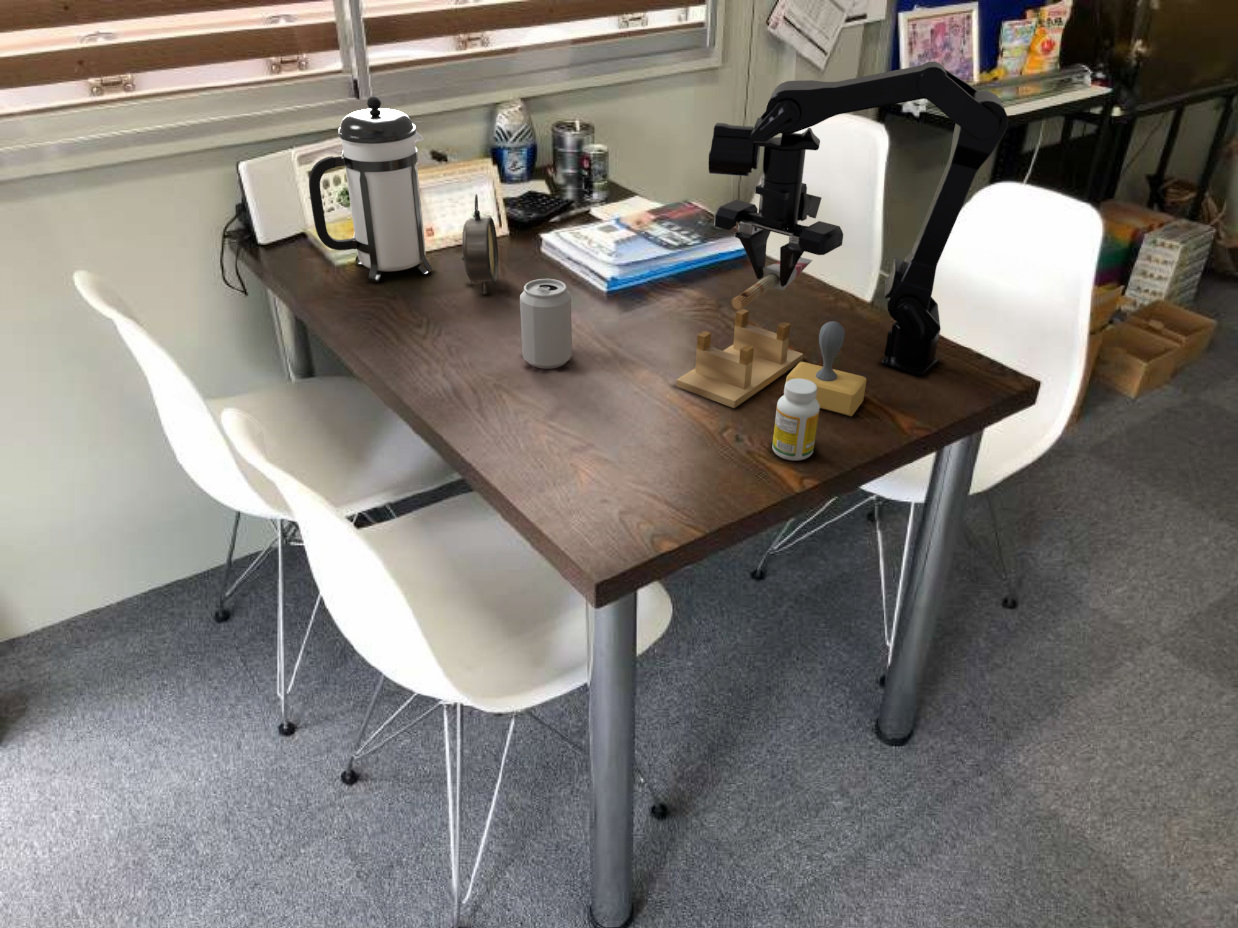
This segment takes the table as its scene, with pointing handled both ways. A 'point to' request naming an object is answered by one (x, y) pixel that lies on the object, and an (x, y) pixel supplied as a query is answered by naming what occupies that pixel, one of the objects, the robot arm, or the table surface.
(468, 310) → the table surface
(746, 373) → the brush rack
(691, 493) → the table surface
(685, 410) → the table surface
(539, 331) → the can
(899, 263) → the robot arm
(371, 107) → the coffee press
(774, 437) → the supplement bottle
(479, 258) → the alarm clock
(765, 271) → the paintbrush
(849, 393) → the rubber stamp
